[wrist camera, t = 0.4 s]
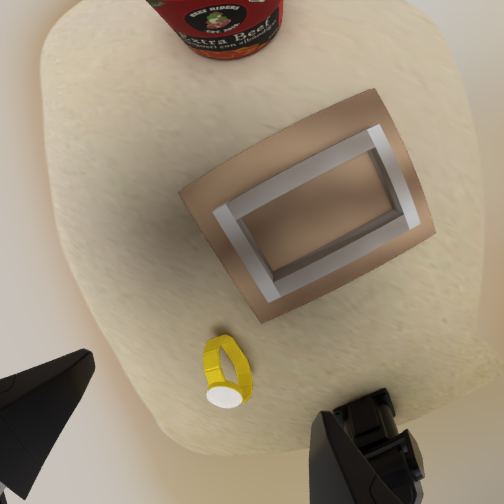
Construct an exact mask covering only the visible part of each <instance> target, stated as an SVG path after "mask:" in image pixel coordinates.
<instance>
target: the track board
mask: <svg viewBox="0 0 504 504" xmlns="http://www.w3.org/2000/svg"><path fill="white" fill-rule="evenodd" d="M178 193H179V195H180V197H181V198H182V200H183V202H184V203H185V205H186V207H187V208H188V210H189V211H190V213H191V215H192V216H193V218H194V220H195V221H196V223H197V224H198V226H199V228H200V229H201V231H202V233H203V234H204V236H205V237H206V239H207V241H208V242H209V244H210V245H211V247H212V249H213V250H214V252H215V253H216V255H217V256H218V258H219V260H220V261H221V263H222V264H223V266H224V267H225V269H226V271H227V272H228V274H229V275H230V277H231V278H232V280H233V281H234V283H235V285H236V286H237V288H238V289H239V291H240V292H241V294H242V295H243V297H244V298H245V300H246V301H247V303H248V304H249V306H250V308H251V309H252V311H253V312H254V314H255V315H256V317H257V318H258V320H259V321H260V323H261V324H262V323H264V322H266V321H269V320H271V319H273V318H275V317H278V316H280V315H282V314H284V313H286V312H289V311H291V310H293V309H295V308H297V307H299V306H302V305H304V304H306V303H308V302H310V301H312V300H314V299H316V298H318V297H320V296H322V295H325V294H327V293H329V292H331V291H333V290H335V289H337V288H339V287H341V286H343V285H345V284H346V283H348V282H350V281H352V280H354V279H356V278H358V277H360V276H362V275H364V274H366V273H368V272H369V271H371V270H373V269H375V268H377V267H379V266H380V265H382V264H384V263H386V262H388V261H390V260H391V259H393V258H395V257H397V256H398V255H400V254H402V253H404V252H405V251H407V250H409V249H411V248H412V247H414V246H416V245H417V244H419V243H421V242H422V241H424V240H426V239H427V238H429V237H431V236H432V235H434V234H436V231H435V227H434V224H433V220H432V217H431V214H430V211H429V208H428V205H427V202H426V199H425V196H424V193H423V190H422V187H421V185H420V182H419V179H418V177H417V174H416V171H415V169H414V167H413V164H412V162H411V159H410V157H409V155H408V152H407V150H406V148H405V145H404V143H403V141H402V139H401V137H400V135H399V133H398V131H397V128H396V126H395V124H394V122H393V120H392V118H391V117H390V115H389V113H388V111H387V109H386V107H385V105H384V103H383V102H382V100H381V98H380V96H379V95H378V93H377V91H376V89H375V88H373V89H370V90H368V91H365V92H363V93H360V94H358V95H356V96H353V97H351V98H349V99H346V100H344V101H342V102H340V103H337V104H335V105H333V106H331V107H329V108H326V109H324V110H322V111H320V112H318V113H316V114H314V115H312V116H310V117H308V118H305V119H303V120H301V121H299V122H297V123H295V124H293V125H292V126H290V127H288V128H286V129H284V130H282V131H280V132H278V133H276V134H274V135H272V136H271V137H269V138H267V139H265V140H263V141H261V142H260V143H258V144H256V145H254V146H252V147H251V148H249V149H247V150H245V151H244V152H242V153H240V154H238V155H237V156H235V157H233V158H232V159H230V160H228V161H226V162H225V163H223V164H221V165H220V166H218V167H217V168H215V169H213V170H212V171H210V172H208V173H207V174H205V175H204V176H202V177H200V178H199V179H197V180H196V181H194V182H193V183H191V184H190V185H188V186H187V187H185V188H183V189H182V190H180V191H179V192H178Z"/></svg>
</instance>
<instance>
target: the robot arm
mask: <svg viewBox="0 0 504 504" xmlns="http://www.w3.org/2000/svg"><path fill="white" fill-rule="evenodd" d="M94 371H95V362H94V358H93V353H92V352H91V351H89V350H87V349H84V348H83V349H80V350H77V351H75V352H72V353H70V354H67V355H65V356H62V357H59V358H57V359H54V360H52V361H49V362H46V363H44V364H41V365H38V366H36V367H33V368H30V369H28V370H25V371H22V372H20V373H17V374H14V375H11V376H8V377H5V378H2V379H0V504H7V501H6V498H5V494H4V489H5V488H6V487H8V488H9V489H10V490H12V491H13V492H14V493H15V494H17V495H18V496H19V497H21V498H22V499H23V500H25V499H26V498H27V496H28V494H29V492H30V490H31V487H32V485H33V484H34V482H35V480H36V477H37V476H38V473H39V472H40V470H41V467H42V466H43V464H44V462H45V460H46V458H47V456H48V455H49V453H50V451H51V449H52V447H53V446H54V444H55V442H56V440H57V438H58V437H59V435H60V433H61V432H62V430H63V428H64V426H65V425H66V423H67V421H68V420H69V418H70V416H71V415H72V413H73V411H74V410H75V408H76V406H77V405H78V403H79V402H80V400H81V398H82V396H83V394H84V392H85V390H86V388H87V385H88V383H89V381H90V379H91V377H92V375H93V373H94ZM395 416H396V414H395V411H394V408H393V405H392V402H391V399H390V396H389V394H388V391H387V389H382V390H380V391H378V392H376V393H374V394H371V395H369V396H367V397H365V398H362V399H360V400H358V401H355V402H353V403H350V404H348V405H345V406H343V407H340V408H337V409H335V410H334V411H333V414H332V412H330V411H320V412H319V413H318V415H317V417H316V418H315V420H314V422H313V424H312V428H311V440H310V451H309V484H310V485H309V488H310V504H421V501H422V499H423V495H424V494H423V490H422V486H421V482H420V480H421V479H423V478H425V473H424V467H423V460H422V455H421V452H420V450H419V447H418V444H417V442H416V440H415V439H414V437H413V436H412V434H411V433H410V432H409V430H408V429H406V430H404V431H403V432H402V433H400V434H399V433H398V430H397V427H396V424H395V421H394V417H395Z"/></svg>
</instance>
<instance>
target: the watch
mask: <svg viewBox="0 0 504 504" xmlns="http://www.w3.org/2000/svg"><path fill="white" fill-rule="evenodd" d="M220 346H222V348H223V349H224V351H225V352H226V354H227V355H228V357H229V358H230V359H231V361H232V362H233V364H234V367H235V370H236V374H237V376H238V377H237V379H238V385H237V384H235V383H233V382H230V381H226V379H225V376H224V374H223V371H222V368H221V362H220V354H219V351H220ZM203 365H204V371H205V375H206V378H207V381H208V383H209V386H208V388H207V392H206V395H207V399H208V400H209V401H210V402H211V403H212V404H214V405H216V406H218V407H222V408H233V407H236V406H238V405H240V404H241V403H245V402H247V401H248V400H249V399H250V398H251V395H252V389H253V381H252V374H251V369H250V366H249V363H248V360H247V358H246V357H245V356H244V354H243V353H242V351H241V350H240V348H239V347H238V345H237V343H236V342H235V340H234V339H233V337H230V336H228V335H226V334H224V335H221V336H219V337H216V338H212V339H211V340H209V341H208V342H207V343H206V345H205V348H204V352H203Z"/></svg>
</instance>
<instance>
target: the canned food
mask: <svg viewBox="0 0 504 504" xmlns="http://www.w3.org/2000/svg"><path fill="white" fill-rule="evenodd" d="M146 1H147V2H148V3H149V4H150V5H151V6H152V7H153V8H154V9H155V10H156V11H157V12H158V14H159V15H160V16H161V17H162V18H163V19H164V20H165V21H166V22H167V23H168V24H169V25H170V27H171V28H172V29H173V30H174V31H175V32H176V33H177V34H178V36H179V37H180V38H181V39H182V40H183V41H184V42H185V44H187V45H188V46H189V47H190V48H191V49H192V50H194V51H195V52H197V53H199V54H201V55H204V56H207V57H211V58H216V59H234V58H240V57H244V56H247V55H250V54H252V53H254V52H256V51H258V50H259V49H261V48H262V47H264V46H265V45H266V44H267V43H268V42H269V41H270V40H271V39H272V38H273V37H274V36H275V34H276V33H277V31H278V30H279V27H280V25H281V22H282V13H283V0H146Z"/></svg>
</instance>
